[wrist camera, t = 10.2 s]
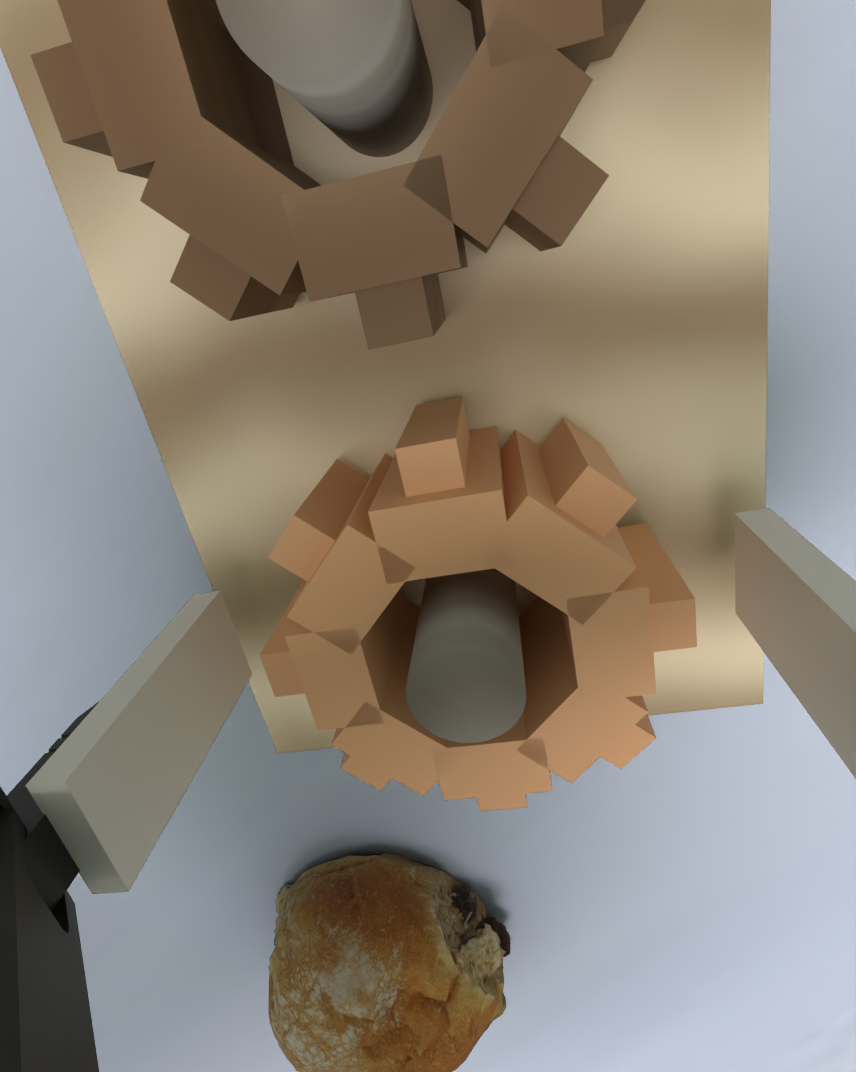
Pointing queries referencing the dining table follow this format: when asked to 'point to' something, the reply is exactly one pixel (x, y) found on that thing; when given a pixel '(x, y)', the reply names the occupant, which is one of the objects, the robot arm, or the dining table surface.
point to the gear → (465, 546)
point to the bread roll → (383, 968)
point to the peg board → (427, 277)
